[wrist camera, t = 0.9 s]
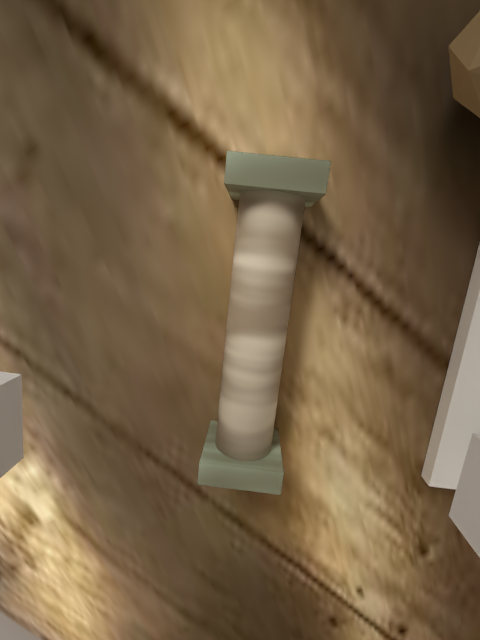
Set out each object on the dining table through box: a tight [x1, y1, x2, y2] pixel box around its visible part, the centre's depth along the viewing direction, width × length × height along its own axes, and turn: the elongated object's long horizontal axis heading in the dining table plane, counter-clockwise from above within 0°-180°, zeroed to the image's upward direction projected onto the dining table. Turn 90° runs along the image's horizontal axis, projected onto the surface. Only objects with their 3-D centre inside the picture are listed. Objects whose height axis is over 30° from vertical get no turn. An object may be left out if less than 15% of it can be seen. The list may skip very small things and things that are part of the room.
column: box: [198, 151, 331, 495], centre depth 22 cm, size 20×5×5 cm, turn 174°
